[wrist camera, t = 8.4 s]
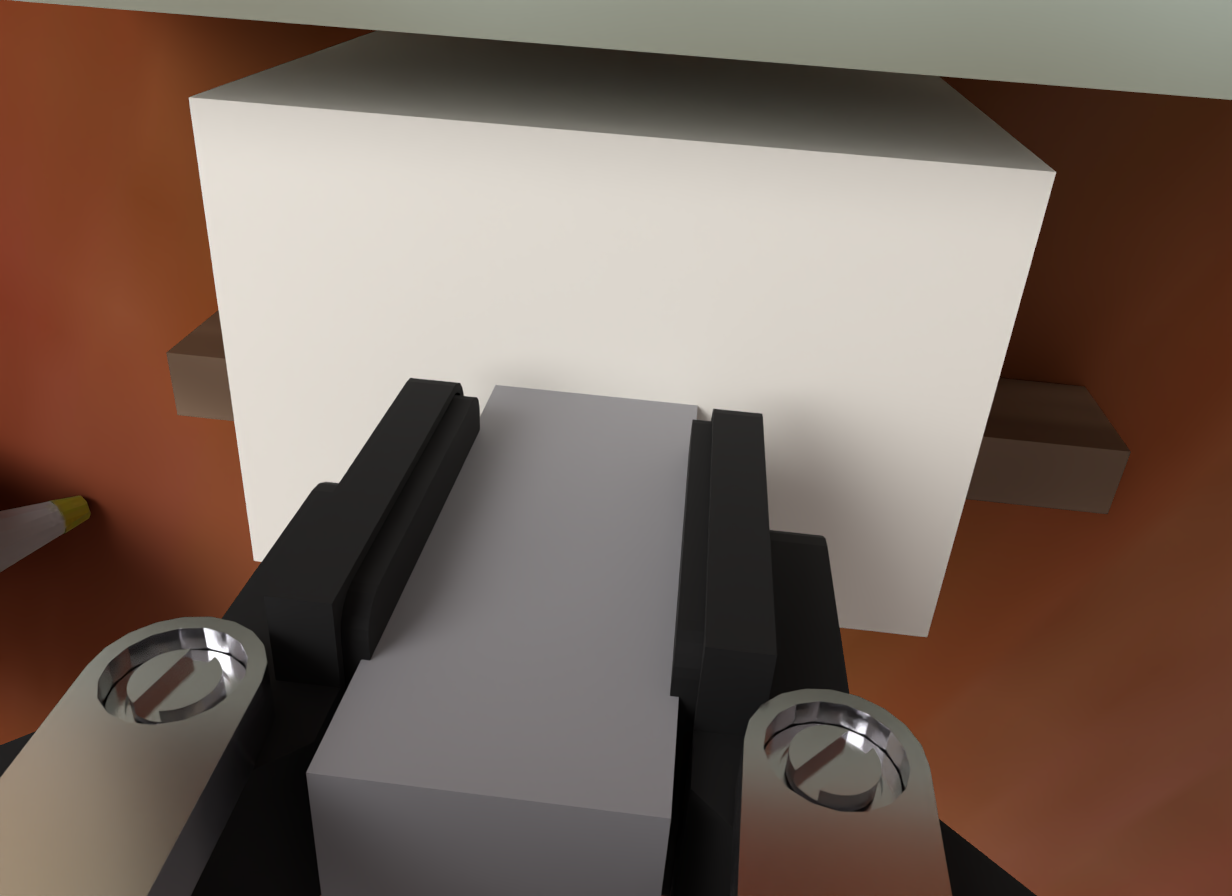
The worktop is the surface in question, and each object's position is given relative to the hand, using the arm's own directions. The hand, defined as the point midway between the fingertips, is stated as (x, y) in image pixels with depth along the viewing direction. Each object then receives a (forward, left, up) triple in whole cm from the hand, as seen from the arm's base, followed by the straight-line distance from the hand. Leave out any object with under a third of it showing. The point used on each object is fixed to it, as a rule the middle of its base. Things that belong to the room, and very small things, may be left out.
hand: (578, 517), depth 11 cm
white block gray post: (-1, 0, -8) cm, 8 cm away
